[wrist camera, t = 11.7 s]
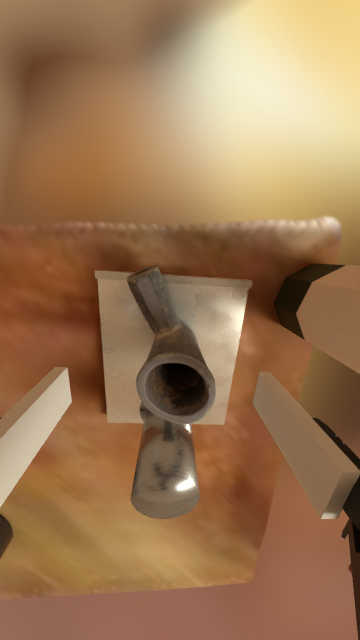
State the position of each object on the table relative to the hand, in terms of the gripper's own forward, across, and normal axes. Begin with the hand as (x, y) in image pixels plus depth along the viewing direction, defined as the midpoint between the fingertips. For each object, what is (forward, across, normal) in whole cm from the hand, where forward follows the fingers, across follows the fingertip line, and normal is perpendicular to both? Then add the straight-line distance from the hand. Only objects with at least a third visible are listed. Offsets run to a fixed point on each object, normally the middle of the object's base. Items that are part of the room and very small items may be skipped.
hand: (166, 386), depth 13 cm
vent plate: (+10, +1, -3) cm, 11 cm away
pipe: (+9, 0, +2) cm, 9 cm away
